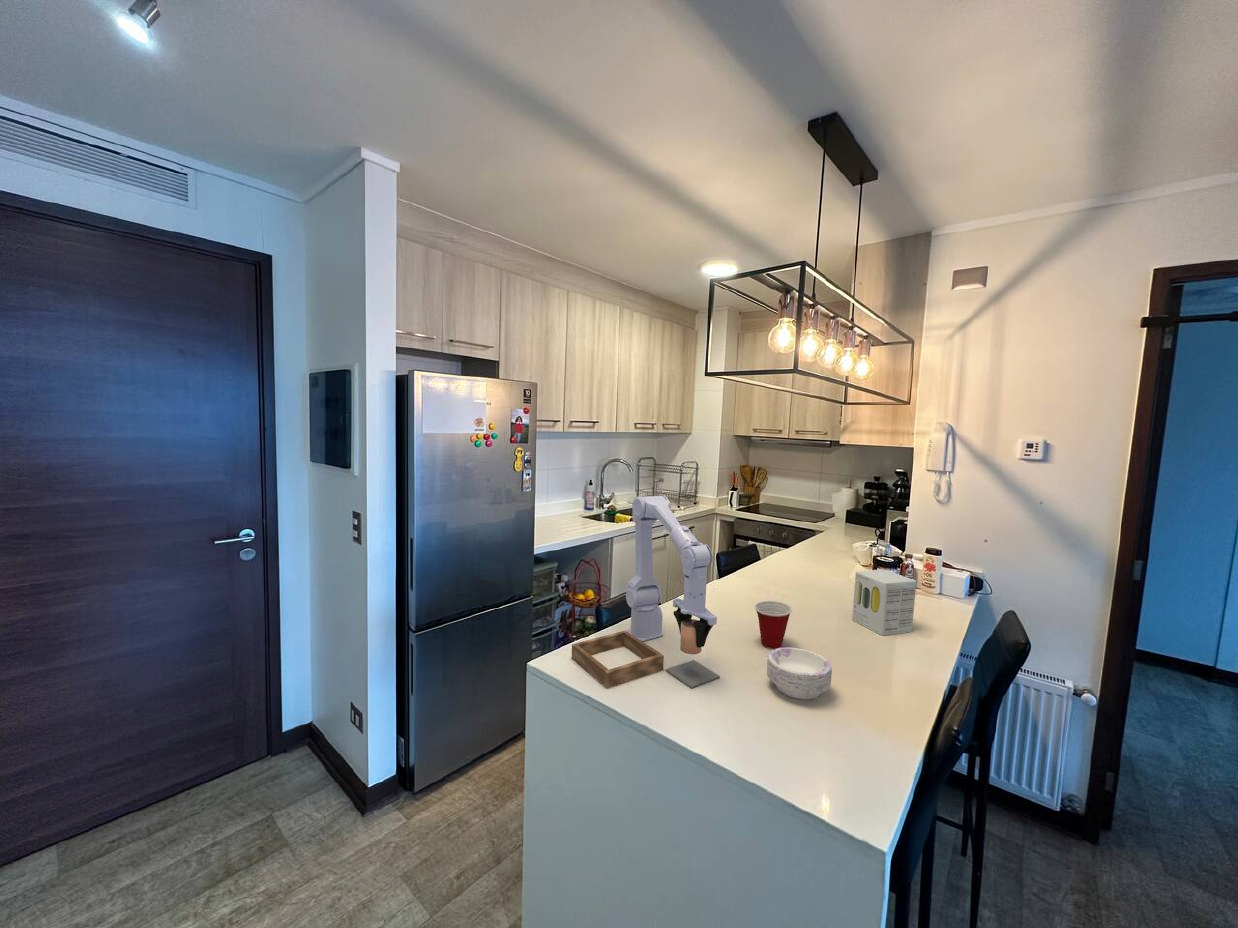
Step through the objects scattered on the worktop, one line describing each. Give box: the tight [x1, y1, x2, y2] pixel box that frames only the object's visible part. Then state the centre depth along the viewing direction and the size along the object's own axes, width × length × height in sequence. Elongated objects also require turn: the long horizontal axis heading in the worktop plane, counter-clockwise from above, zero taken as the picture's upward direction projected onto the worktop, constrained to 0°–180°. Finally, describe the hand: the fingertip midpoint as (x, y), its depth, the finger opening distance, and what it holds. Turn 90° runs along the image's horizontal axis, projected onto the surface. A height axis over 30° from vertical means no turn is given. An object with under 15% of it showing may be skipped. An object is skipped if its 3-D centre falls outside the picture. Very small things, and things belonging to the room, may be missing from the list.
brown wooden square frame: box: [571, 630, 665, 689], centre depth 132 cm, size 18×18×4 cm
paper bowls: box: [766, 646, 833, 701], centre depth 122 cm, size 15×15×8 cm
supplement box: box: [851, 568, 917, 636], centre depth 164 cm, size 13×13×18 cm
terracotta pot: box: [679, 618, 703, 655], centre depth 127 cm, size 6×6×7 cm
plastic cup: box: [754, 600, 793, 650], centre depth 147 cm, size 11×11×12 cm
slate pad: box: [665, 659, 721, 690], centre depth 128 cm, size 10×10×1 cm
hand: (692, 641), depth 127 cm, fingers closed on terracotta pot, 5 cm apart
